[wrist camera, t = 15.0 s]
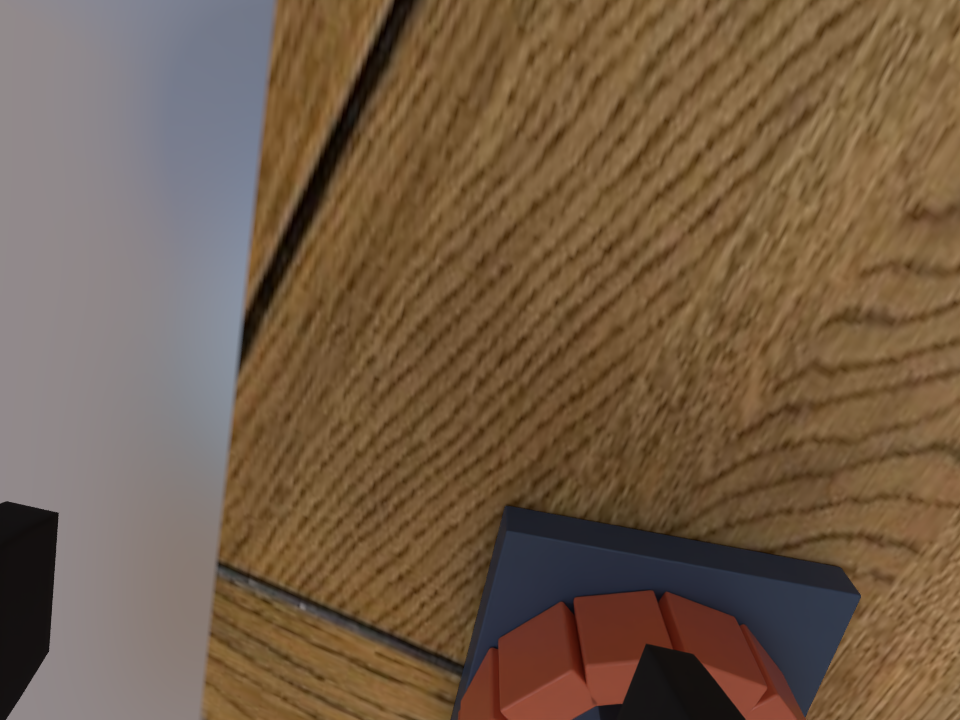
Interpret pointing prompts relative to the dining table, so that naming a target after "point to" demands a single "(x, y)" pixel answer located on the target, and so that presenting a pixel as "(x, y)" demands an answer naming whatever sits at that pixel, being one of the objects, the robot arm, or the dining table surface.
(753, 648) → the segmented red ring
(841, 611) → the ring stacking peg
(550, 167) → the dining table surface
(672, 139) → the dining table surface
